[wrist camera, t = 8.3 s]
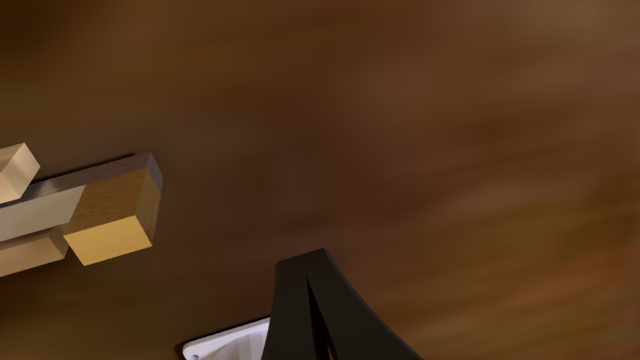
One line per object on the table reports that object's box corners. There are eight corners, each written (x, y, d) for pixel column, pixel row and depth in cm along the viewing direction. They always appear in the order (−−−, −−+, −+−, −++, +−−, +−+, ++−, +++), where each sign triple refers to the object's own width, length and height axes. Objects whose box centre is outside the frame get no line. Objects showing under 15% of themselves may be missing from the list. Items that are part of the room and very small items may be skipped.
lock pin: (163, 178, 19) (152, 246, 15) (-94, 250, 19) (-173, 340, 15) (150, 151, 18) (135, 215, 15) (-119, 226, 18) (-209, 314, 14)
